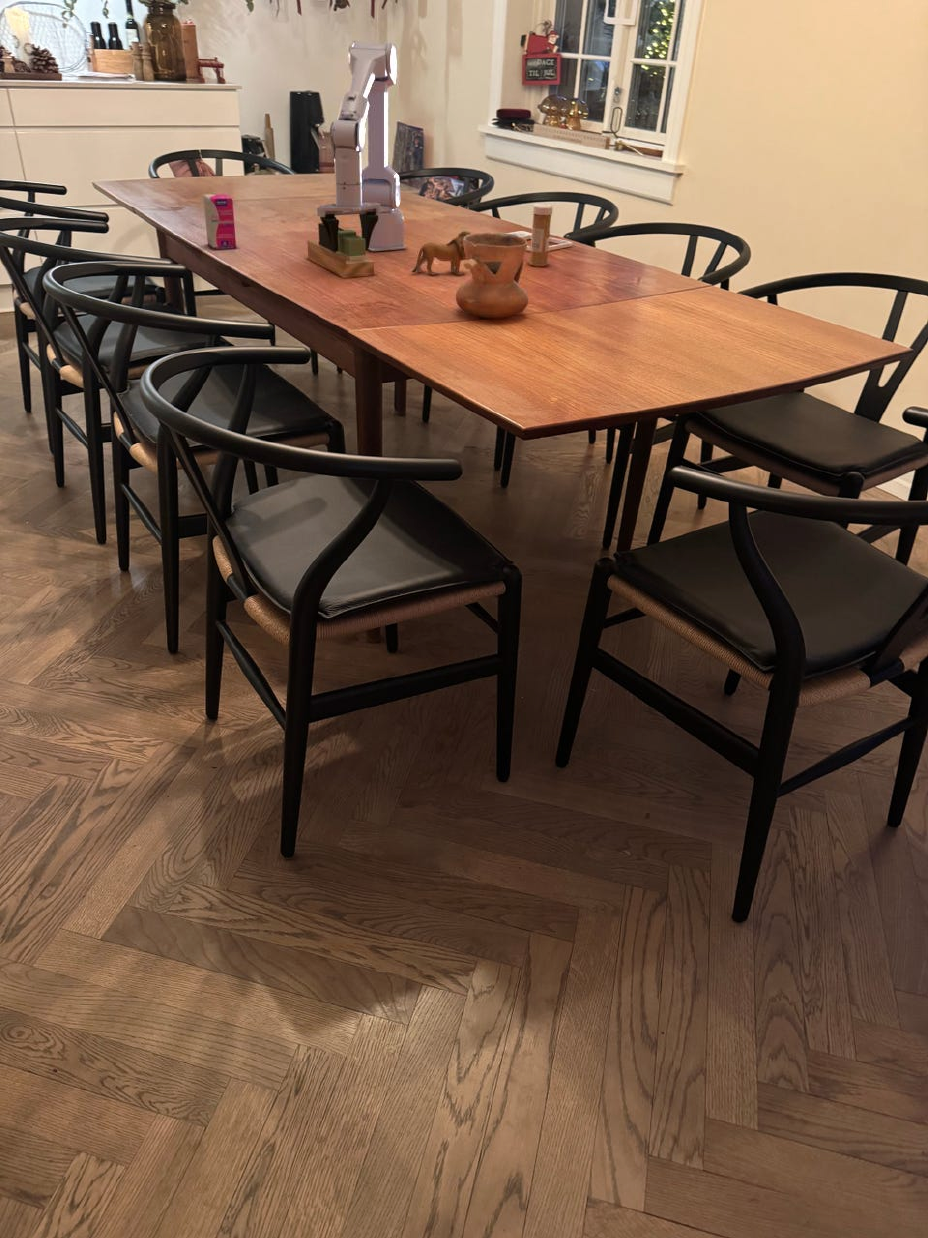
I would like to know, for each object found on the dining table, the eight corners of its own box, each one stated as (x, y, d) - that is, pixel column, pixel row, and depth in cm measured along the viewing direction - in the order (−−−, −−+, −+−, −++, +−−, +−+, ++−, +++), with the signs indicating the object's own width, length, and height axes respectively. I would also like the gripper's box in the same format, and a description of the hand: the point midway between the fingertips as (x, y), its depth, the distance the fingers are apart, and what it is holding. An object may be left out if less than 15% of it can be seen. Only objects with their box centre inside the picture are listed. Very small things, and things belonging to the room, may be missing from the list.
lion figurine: (468, 269, 208) (470, 228, 203) (476, 274, 204) (478, 233, 199) (408, 271, 204) (408, 230, 199) (415, 277, 200) (416, 234, 195)
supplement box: (213, 249, 214) (208, 198, 207) (207, 244, 218) (201, 193, 212) (237, 248, 216) (232, 197, 210) (230, 243, 220) (225, 193, 214)
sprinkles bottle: (551, 265, 215) (556, 205, 207) (536, 267, 213) (541, 206, 205) (539, 261, 218) (545, 202, 211) (524, 263, 216) (529, 203, 208)
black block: (334, 244, 211) (333, 221, 208) (347, 251, 206) (346, 227, 203) (318, 245, 209) (317, 222, 206) (331, 252, 204) (330, 229, 201)
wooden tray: (337, 256, 214) (336, 237, 211) (374, 275, 200) (374, 255, 198) (308, 258, 210) (307, 239, 208) (344, 278, 197) (343, 258, 194)
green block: (351, 252, 204) (350, 229, 201) (366, 259, 199) (365, 236, 196) (335, 254, 202) (334, 230, 199) (349, 261, 197) (349, 237, 194)
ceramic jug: (493, 330, 168) (498, 250, 160) (436, 314, 176) (438, 237, 168) (547, 312, 180) (554, 238, 172) (491, 298, 187) (495, 226, 179)
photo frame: (521, 229, 244) (573, 241, 234) (521, 234, 245) (572, 245, 235) (485, 236, 235) (538, 248, 225) (485, 240, 236) (537, 252, 226)
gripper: (325, 187, 186) (328, 255, 194) (386, 184, 193) (387, 250, 200) (311, 181, 191) (315, 248, 199) (372, 179, 197) (373, 244, 205)
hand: (350, 249), depth 200 cm, fingers open, 7 cm apart
